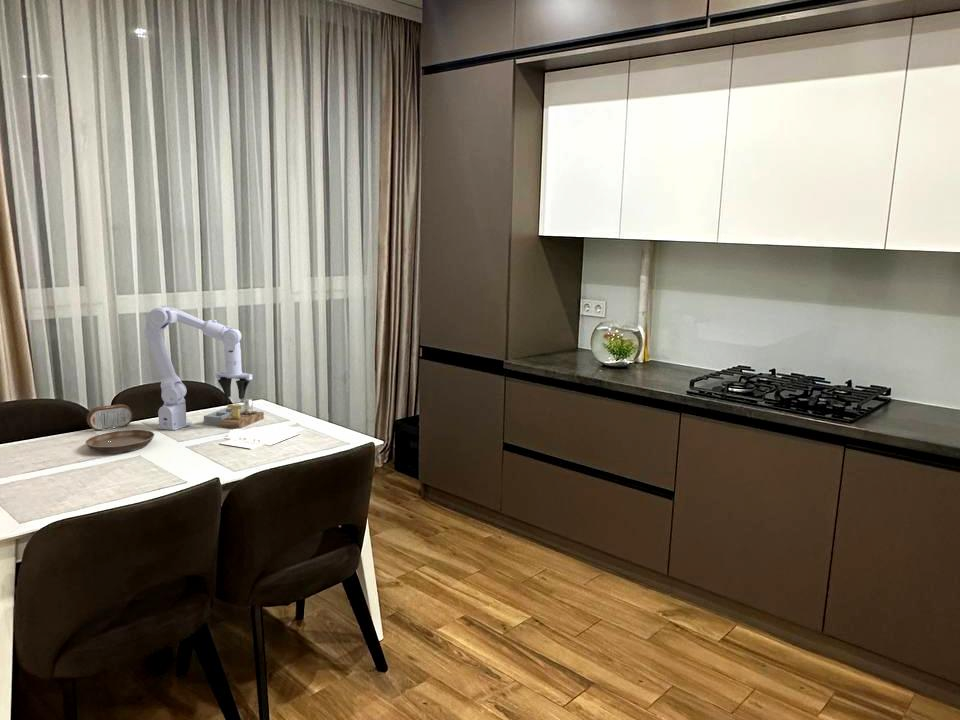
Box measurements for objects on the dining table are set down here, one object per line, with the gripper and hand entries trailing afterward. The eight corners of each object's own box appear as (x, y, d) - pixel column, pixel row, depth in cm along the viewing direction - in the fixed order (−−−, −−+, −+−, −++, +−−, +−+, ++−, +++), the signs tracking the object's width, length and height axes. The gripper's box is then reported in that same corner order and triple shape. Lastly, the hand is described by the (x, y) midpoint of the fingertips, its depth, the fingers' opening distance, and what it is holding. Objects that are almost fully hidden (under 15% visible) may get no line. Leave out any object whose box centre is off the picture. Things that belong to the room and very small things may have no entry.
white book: (311, 431, 265) (310, 422, 264) (259, 455, 240) (258, 445, 239) (266, 425, 273) (265, 416, 272) (211, 448, 248) (210, 437, 247)
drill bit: (250, 421, 276) (249, 400, 275) (242, 420, 277) (241, 400, 276) (254, 419, 279) (253, 399, 278) (247, 418, 280) (246, 398, 279)
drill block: (239, 428, 266) (238, 422, 265) (220, 427, 268) (219, 420, 267) (263, 418, 281) (263, 412, 280) (245, 416, 283) (245, 410, 283)
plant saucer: (72, 450, 239) (71, 440, 238) (128, 435, 257) (127, 426, 256) (113, 460, 229) (112, 449, 229) (168, 443, 247) (167, 434, 247)
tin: (132, 424, 271) (130, 402, 269) (134, 426, 268) (132, 403, 267) (87, 431, 261) (85, 408, 260) (89, 432, 259) (87, 409, 257)
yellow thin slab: (241, 419, 269) (241, 406, 268) (227, 418, 270) (227, 405, 270) (243, 418, 270) (243, 405, 269) (229, 417, 272) (229, 404, 271)
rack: (220, 425, 270) (219, 417, 270) (204, 423, 272) (203, 415, 272) (251, 412, 289) (251, 405, 289) (236, 411, 291) (235, 404, 291)
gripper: (256, 361, 268) (258, 397, 271) (222, 358, 272) (224, 394, 275) (245, 364, 262) (247, 401, 264) (210, 361, 266) (212, 398, 268)
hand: (234, 397), depth 269 cm, fingers open, 5 cm apart
